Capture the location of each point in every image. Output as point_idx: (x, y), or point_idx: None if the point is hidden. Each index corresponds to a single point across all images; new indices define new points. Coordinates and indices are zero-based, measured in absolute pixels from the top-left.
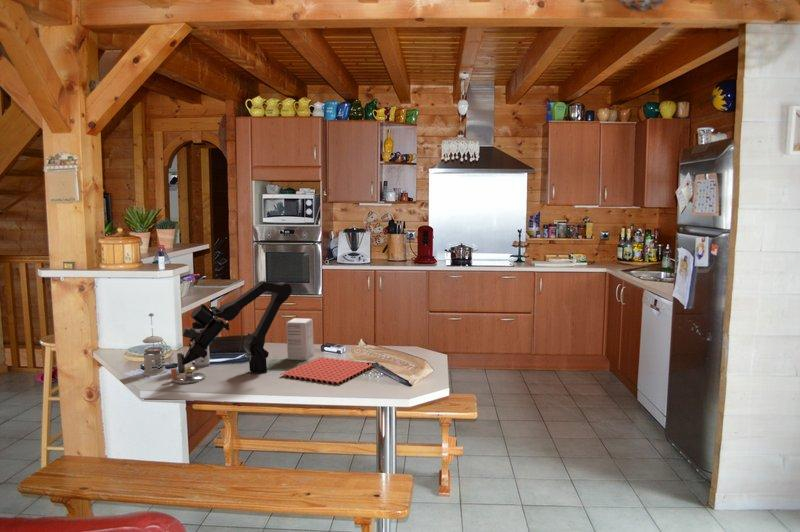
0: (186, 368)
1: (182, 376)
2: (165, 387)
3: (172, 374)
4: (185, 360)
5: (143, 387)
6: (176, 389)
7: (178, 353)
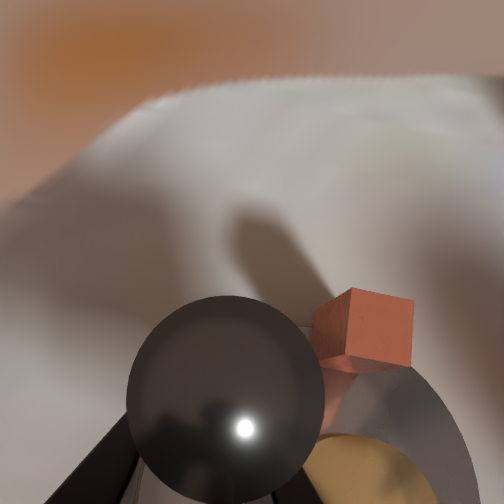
0: (347, 497)
1: (377, 435)
2: (171, 232)
3: (329, 311)
4: (78, 483)
5: (284, 96)
6: (29, 303)
7: (272, 341)
